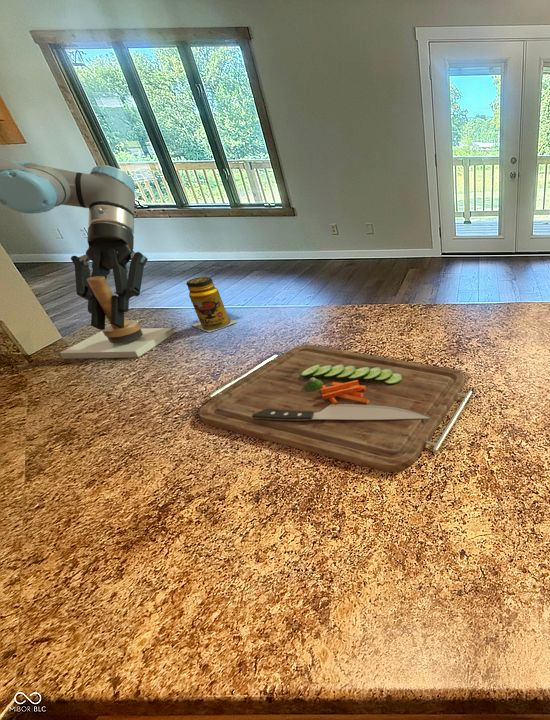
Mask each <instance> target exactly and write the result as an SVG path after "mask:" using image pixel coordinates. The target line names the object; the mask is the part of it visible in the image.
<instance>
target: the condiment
mask: <svg viewBox="0 0 550 720" xmlns="http://www.w3.org/2000/svg"><path fill="white" fill-rule="evenodd" d="M186 286H187V289H188V291H189V293H188V296H189V299H190V302H191V303H192V305H193V308H194V312H195V314H196V315H197V318H198V320H199V322H197V323H194V324H192V325H191V326H192V327H195V328H197V329H199V330H201V331H203V332H206V333H211V332H214V331H218V330H221V329H223V328H226V327H228V326H231V325H233V324H236V323H239V321H237V320H234V319H232V318H230V317H229V315H228V313H227V311H226V307H225V305H224V302H223V300H222V298H221V294H220V292H219V289H218V288H217V287H216V286H215V283H214V281H213V279H212V277H210V276H200V277H195V278H191V279H188V280H187V281H186Z"/></svg>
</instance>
